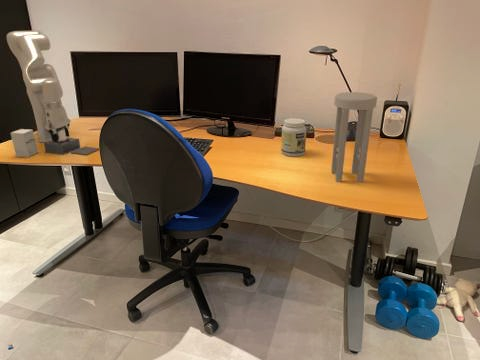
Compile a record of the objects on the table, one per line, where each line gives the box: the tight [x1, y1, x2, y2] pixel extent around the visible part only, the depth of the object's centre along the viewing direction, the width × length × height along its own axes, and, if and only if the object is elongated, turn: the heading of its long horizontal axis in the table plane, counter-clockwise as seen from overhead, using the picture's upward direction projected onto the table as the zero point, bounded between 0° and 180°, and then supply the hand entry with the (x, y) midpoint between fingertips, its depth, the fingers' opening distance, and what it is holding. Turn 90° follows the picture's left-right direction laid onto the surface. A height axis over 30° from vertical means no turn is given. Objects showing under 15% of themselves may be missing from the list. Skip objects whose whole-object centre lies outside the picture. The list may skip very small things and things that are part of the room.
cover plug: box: [55, 127, 67, 143], centre depth 196 cm, size 5×5×12 cm
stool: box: [330, 91, 378, 183], centre depth 155 cm, size 16×16×35 cm
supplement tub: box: [280, 117, 307, 158], centre depth 187 cm, size 12×12×17 cm
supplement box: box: [10, 128, 39, 158], centre depth 190 cm, size 7×7×13 cm
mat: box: [70, 146, 100, 157], centre depth 196 cm, size 10×10×1 cm
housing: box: [43, 137, 81, 156], centre depth 198 cm, size 12×12×5 cm
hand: (60, 138), depth 196 cm, fingers open, 7 cm apart
